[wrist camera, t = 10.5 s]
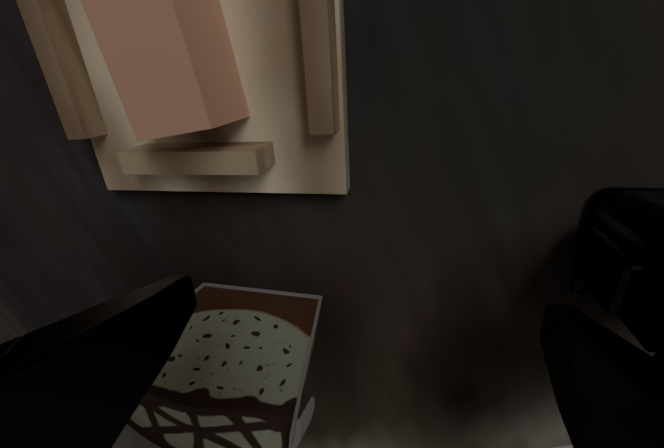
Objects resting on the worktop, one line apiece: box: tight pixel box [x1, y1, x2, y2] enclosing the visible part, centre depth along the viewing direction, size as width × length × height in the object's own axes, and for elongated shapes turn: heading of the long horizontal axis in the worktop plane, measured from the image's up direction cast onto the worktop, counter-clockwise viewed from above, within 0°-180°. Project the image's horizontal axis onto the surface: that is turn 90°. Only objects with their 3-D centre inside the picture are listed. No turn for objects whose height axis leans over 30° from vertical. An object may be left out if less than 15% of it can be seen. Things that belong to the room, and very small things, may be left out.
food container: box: [117, 283, 323, 448], centre depth 22 cm, size 12×6×10 cm, turn 91°
